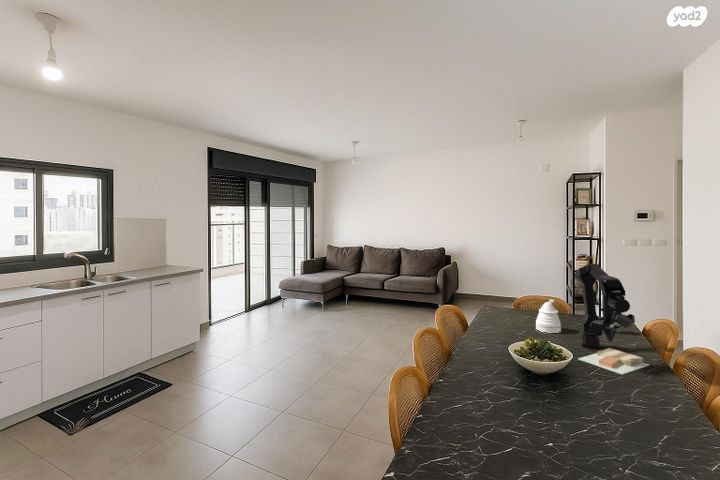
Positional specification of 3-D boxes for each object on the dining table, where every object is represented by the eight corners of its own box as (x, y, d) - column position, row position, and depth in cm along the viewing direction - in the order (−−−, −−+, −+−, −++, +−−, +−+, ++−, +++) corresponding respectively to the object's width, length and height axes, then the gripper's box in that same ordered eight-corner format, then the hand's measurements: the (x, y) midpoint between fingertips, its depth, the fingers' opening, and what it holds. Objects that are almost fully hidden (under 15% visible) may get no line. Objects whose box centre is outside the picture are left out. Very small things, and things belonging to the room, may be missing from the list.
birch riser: (597, 356, 168) (597, 351, 168) (609, 353, 172) (609, 348, 172) (630, 367, 155) (630, 361, 155) (642, 363, 159) (642, 357, 159)
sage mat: (578, 359, 166) (578, 358, 166) (604, 351, 174) (604, 350, 174) (622, 374, 149) (622, 373, 149) (649, 365, 157) (649, 364, 157)
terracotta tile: (598, 364, 159) (598, 360, 159) (607, 360, 163) (607, 355, 163) (611, 368, 155) (611, 363, 154) (620, 363, 159) (620, 359, 159)
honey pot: (561, 328, 211) (561, 298, 210) (560, 335, 200) (559, 303, 199) (537, 326, 218) (536, 296, 217) (534, 332, 207) (534, 301, 206)
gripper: (616, 313, 148) (616, 350, 149) (643, 307, 156) (643, 343, 157) (589, 308, 158) (590, 343, 159) (616, 302, 166) (616, 336, 167)
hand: (610, 341), depth 160 cm, fingers closed
